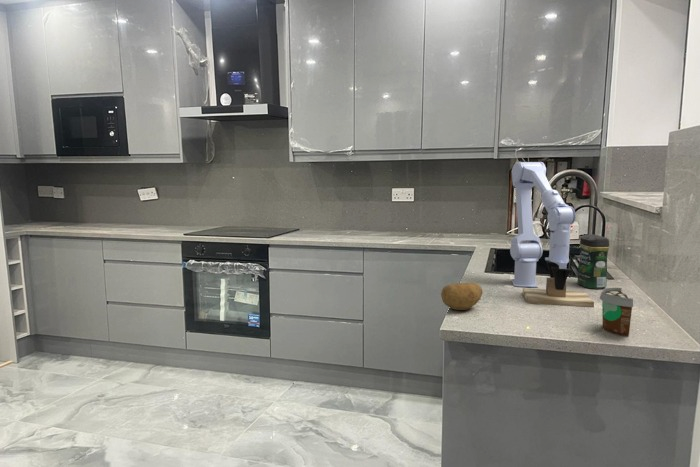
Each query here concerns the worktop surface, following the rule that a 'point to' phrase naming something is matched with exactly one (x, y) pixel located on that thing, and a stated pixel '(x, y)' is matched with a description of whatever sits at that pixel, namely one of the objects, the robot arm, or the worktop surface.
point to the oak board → (558, 298)
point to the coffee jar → (593, 261)
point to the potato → (461, 295)
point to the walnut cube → (554, 289)
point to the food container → (616, 311)
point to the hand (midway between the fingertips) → (557, 286)
